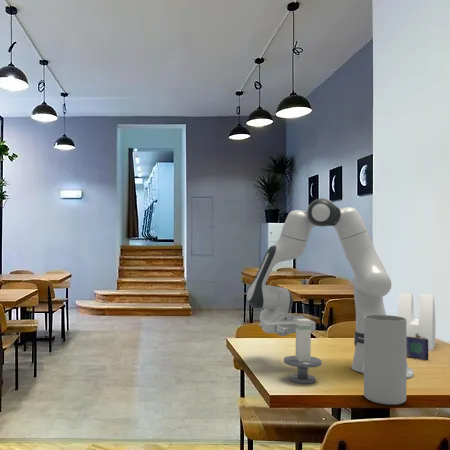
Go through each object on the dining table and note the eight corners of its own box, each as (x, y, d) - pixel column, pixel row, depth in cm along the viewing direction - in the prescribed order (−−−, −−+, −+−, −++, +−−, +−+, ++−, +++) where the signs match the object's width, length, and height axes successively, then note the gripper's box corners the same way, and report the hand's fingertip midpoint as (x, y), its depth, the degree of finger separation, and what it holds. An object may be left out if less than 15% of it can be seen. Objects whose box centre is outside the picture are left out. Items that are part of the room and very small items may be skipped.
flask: (405, 357, 201) (405, 332, 201) (407, 356, 203) (407, 331, 204) (427, 360, 195) (427, 335, 195) (429, 359, 197) (429, 334, 198)
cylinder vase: (357, 392, 150) (358, 314, 152) (395, 392, 151) (395, 314, 152) (372, 405, 138) (373, 320, 139) (413, 405, 139) (413, 321, 140)
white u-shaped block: (432, 351, 214) (432, 296, 215) (396, 347, 221) (396, 294, 222) (435, 344, 230) (435, 293, 232) (402, 340, 238) (402, 291, 239)
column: (306, 358, 166) (306, 318, 166) (310, 361, 162) (311, 320, 162) (295, 358, 165) (295, 318, 166) (299, 361, 161) (299, 320, 162)
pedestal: (324, 377, 166) (325, 358, 167) (316, 387, 155) (317, 366, 155) (289, 373, 172) (289, 354, 172) (279, 382, 160) (279, 361, 160)
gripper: (257, 316, 179) (270, 322, 165) (305, 315, 184) (322, 320, 171) (256, 332, 178) (270, 339, 165) (305, 331, 184) (322, 338, 171)
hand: (297, 330), depth 168 cm, fingers open, 8 cm apart
